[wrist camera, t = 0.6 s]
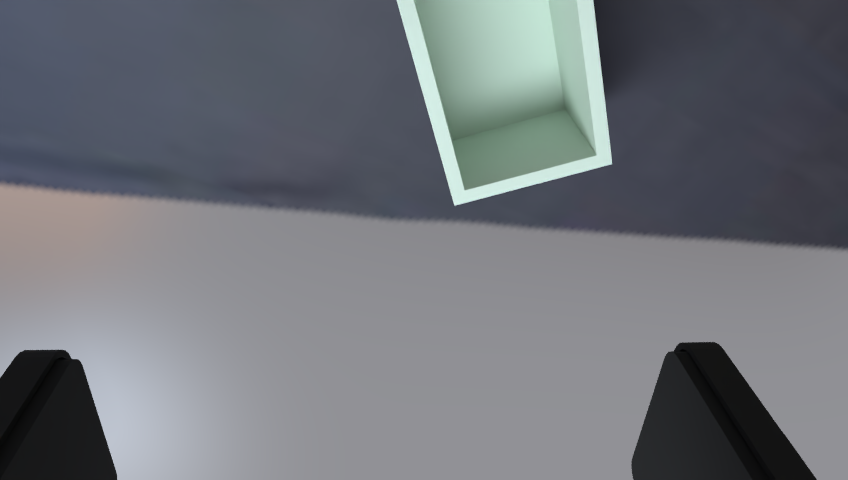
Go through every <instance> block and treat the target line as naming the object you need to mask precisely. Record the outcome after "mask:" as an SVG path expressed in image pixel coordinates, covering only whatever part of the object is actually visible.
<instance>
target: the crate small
mask: <svg viewBox="0 0 848 480" xmlns="http://www.w3.org/2000/svg"><path fill="white" fill-rule="evenodd" d="M397 3H398V7H399V10H400V14H401V17H402V21H403V24H404V28H405V31H406V35H407V39H408V42H409V46H410V49H411V53H412V56H413V60H414V63H415V67H416V71H417V74H418V78H419V81H420V85H421V88H422V92H423V95H424V99H425V102H426V106H427V110H428V113H429V117H430V120H431V124H432V127H433V131H434V134H435V138H436V142H437V145H438V149H439V152H440V156H441V159H442V163H443V166H444V170H445V173H446V177H447V181H448V184H449V188H450V191H451V195H452V198H453V202H454V205H459V204H463V203H466V202H470V201H474V200H478V199H482V198H485V197H489V196H493V195H497V194H500V193H504V192H508V191H512V190H516V189H519V188H523V187H527V186H531V185H535V184H538V183H542V182H546V181H550V180H553V179H557V178H561V177H565V176H569V175H572V174H576V173H580V172H584V171H587V170H591V169H595V168H599V167H603V166H606V165H610V164H612V158H611V150H610V141H609V132H608V124H607V115H606V106H605V98H604V89H603V80H602V72H601V63H600V55H599V46H598V37H597V29H596V20H595V11H594V3H593V0H397Z"/></svg>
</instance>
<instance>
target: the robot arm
mask: <svg viewBox="0 0 848 480" xmlns="http://www.w3.org/2000/svg"><path fill="white" fill-rule="evenodd" d="M632 474H633V479H634V480H816V478H815V477H814V475H813V474H812V472H811V471H810V469H809V468H808V467H807V465H806V464H805V463H804V461H803V460H802V459H801V457H800V455H799V454H798V453H797V451H796V450H795V449H794V447H793V446H792V444H791V443H790V441H789V440H788V439H787V437H786V436H785V435H784V434H783V432H782V431H781V429H780V428H779V427H778V425H777V424H776V422H775V421H774V420H773V418H772V417H771V415H770V414H769V413H768V411H767V410H766V408H765V407H764V406H763V404H762V403H761V401H760V400H759V399H758V397H757V396H756V394H755V393H754V392H753V390H752V389H751V387H750V386H749V385H748V383H747V382H746V380H745V379H744V378H743V376H742V375H741V373H740V372H739V371H738V369H737V368H736V366H735V365H734V364H733V362H732V361H731V359H730V358H729V357H728V355H727V354H726V352H725V351H724V350H723V348H722V347H721V346H720V345H719V344H717V343H715V342H698V343H697V342H696V343H694V342H692V343H679V344H678V346H676V348H675V350H674V352H668V353H667V354H666V356H665V359H664V361H663V365H662V368H661V371H660V374H659V377H658V380H657V383H656V386H655V389H654V393H653V396H652V399H651V402H650V405H649V408H648V411H647V414H646V417H645V421H644V424H643V427H642V430H641V433H640V436H639V440H638V443H637V446H636V448H635V452H634V455H633V458H632ZM0 480H117V474H116V470H115V467H114V464H113V460H112V457H111V454H110V451H109V448H108V445H107V441H106V438H105V435H104V432H103V429H102V426H101V422H100V419H99V416H98V413H97V410H96V407H95V404H94V400H93V398H92V394H91V391H90V388H89V385H88V382H87V379H86V375H85V372H84V369H83V366H82V364H81V362H80V361H79V360H77V359H71V357H70V355H69V353H68V352H66V351H65V350H24V351H23V352H20V353H19V354H18V355H17V356H16V357H15V358H14V360H13V361H12V363H11V364H10V365H9V367H8V368H7V369H6V371H5V372H4V374H3V375H2V376H1V378H0Z"/></svg>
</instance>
